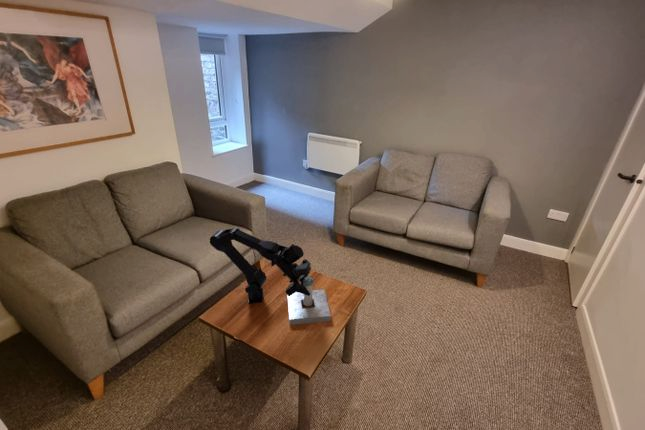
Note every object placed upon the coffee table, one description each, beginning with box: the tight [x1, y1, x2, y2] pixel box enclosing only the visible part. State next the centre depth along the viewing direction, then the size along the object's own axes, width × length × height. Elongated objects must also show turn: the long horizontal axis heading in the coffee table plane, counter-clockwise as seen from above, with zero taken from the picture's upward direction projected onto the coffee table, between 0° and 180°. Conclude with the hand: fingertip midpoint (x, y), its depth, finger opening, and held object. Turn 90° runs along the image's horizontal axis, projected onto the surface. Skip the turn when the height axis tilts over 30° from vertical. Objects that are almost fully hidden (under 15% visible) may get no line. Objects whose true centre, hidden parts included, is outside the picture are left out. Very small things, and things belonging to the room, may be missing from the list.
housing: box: [286, 289, 332, 326], centre depth 143 cm, size 18×18×3 cm
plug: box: [303, 276, 315, 307], centre depth 140 cm, size 5×5×13 cm
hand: (311, 292), depth 139 cm, fingers closed on plug, 4 cm apart
